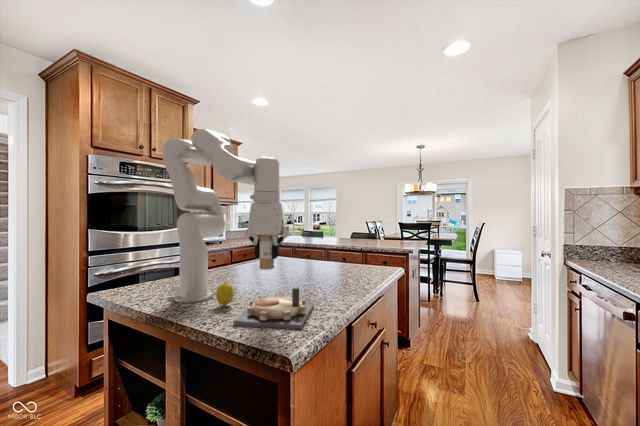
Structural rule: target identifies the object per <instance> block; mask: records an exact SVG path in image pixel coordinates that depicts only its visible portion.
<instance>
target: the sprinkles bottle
mask: <svg viewBox="0 0 640 426" xmlns="http://www.w3.org/2000/svg"><path fill="white" fill-rule="evenodd" d="M273 244H274V243H273V238H272V236H260V252H259V258H258V259H259V269H260V270H265V271H266V270H267V271H268V270H273V269H274V268H275V266H274V265H275V259H272V246H273Z"/></svg>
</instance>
